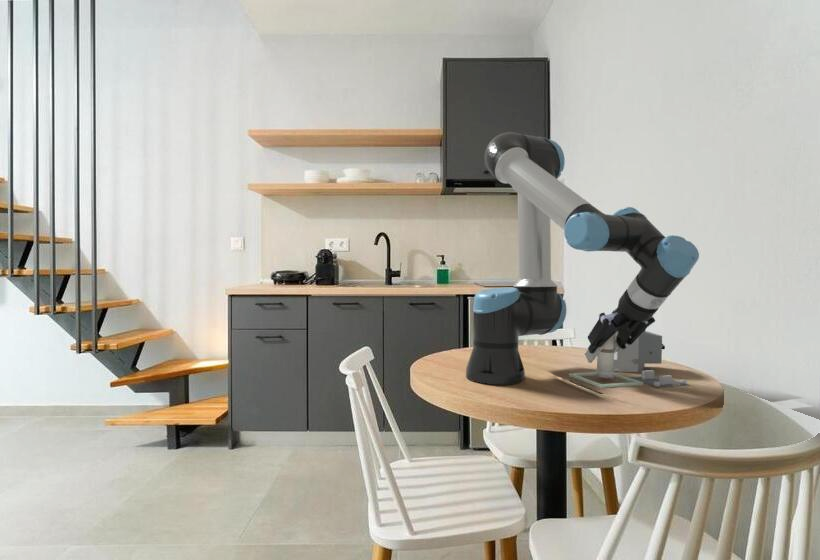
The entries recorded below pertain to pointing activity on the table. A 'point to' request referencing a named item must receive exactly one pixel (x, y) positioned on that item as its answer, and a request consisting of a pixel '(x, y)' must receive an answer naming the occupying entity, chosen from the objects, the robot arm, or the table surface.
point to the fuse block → (658, 380)
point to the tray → (577, 376)
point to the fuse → (606, 360)
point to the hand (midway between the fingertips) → (596, 357)
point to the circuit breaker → (639, 353)
